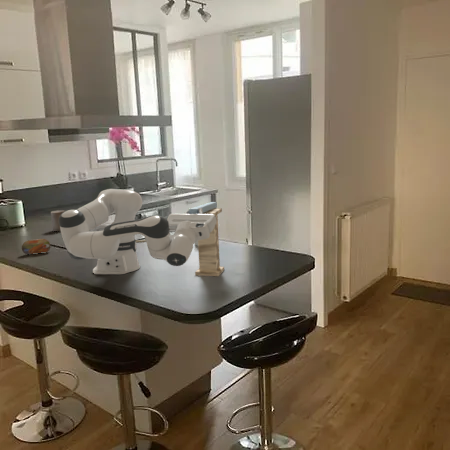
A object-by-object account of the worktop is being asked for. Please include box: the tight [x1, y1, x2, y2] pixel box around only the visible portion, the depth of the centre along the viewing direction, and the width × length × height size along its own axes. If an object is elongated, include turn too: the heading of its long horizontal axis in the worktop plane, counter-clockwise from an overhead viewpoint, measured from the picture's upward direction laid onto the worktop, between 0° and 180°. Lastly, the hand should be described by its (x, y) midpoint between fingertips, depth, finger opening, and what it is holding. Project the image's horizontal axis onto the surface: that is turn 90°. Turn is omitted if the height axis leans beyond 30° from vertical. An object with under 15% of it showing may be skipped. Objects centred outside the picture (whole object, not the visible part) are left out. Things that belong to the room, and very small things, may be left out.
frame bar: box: [189, 201, 218, 214], centre depth 205 cm, size 30×3×2 cm, turn 165°
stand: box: [194, 207, 225, 277], centre depth 212 cm, size 14×11×29 cm
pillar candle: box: [50, 209, 66, 232], centre depth 324 cm, size 10×10×15 cm
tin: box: [21, 238, 51, 255], centre depth 262 cm, size 15×3×8 cm, turn 109°
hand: (195, 209), depth 194 cm, fingers closed on frame bar, 3 cm apart
